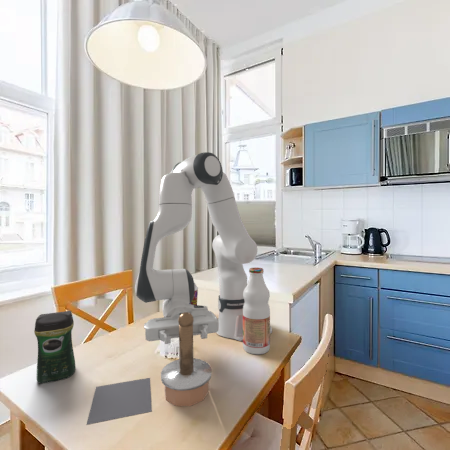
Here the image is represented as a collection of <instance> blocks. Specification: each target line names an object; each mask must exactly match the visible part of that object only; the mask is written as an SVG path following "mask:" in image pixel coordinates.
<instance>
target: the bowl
mask: <svg viewBox="0 0 450 450" xmlns="http://www.w3.org/2000/svg"><path fill="white" fill-rule="evenodd" d="M209 381H210V380H209ZM209 381H208V382H207V383H206V384H204V385H203V386H201V387H199V388H196V389H192V390H186V391H179V390H173V389H170V388H168V387H166V386H165V385H164V396H165V400H166V401H167V402H168V403H170V404H173V405H174V406H175V407H191V406H193V405H196V404H199V403H200V402H203V401H204V400H205V398H206V397H207V395H208V393H209V387H210V386H209V385H210V383H209Z"/></svg>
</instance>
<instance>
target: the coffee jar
mask: <svg viewBox="0 0 450 450" xmlns="http://www.w3.org/2000/svg"><path fill="white" fill-rule="evenodd" d="M73 328H74V317H73V313H72V311H71V310H65V311H60V312H59V311H58V312H49V313H40V315H38V316H37V317H36V319H35V324H34V330H33V331H34V335H35V338H36V340H37V341H36V342H37V358H36V361H37V363H36V382H37V383H39V384H45V383H53V382H58V381H62V380H65V379H68V378H70V377H71V376H73V375H74V373H75V371H76V358H75V353H74V347H73V340H72V339H73V338H72V337H73V336H72V331H73Z"/></svg>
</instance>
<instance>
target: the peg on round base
mask: <svg viewBox="0 0 450 450" xmlns="http://www.w3.org/2000/svg"><path fill="white" fill-rule="evenodd" d="M193 322H194V318H193V316H192V314H191V313H189V312H184V313H182V314H181V315H180V316H179V318H178V323H179V338H178V348H179V349H178V350H179V352H178V353H179V354H178V355H179V356H178V359H176V360H175V359H174V360H173V361H170V362H169V363H167V364H166V365H165V366H164V367H163V368H162V369H161V372H160V380H161V383H162V384H163V386H164V387H165V386H166V387H168V388H170V389H173V390H179V391H186V390H192V389H196V388H199V387H201V386H203V385H204V384H206V383H207V382H208V381H210V380H211V378H212V366H211V365H210V364H209V363H208V362H207V361H205V360H203V359H200V358H196V357H195V358H194V336H193Z"/></svg>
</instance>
